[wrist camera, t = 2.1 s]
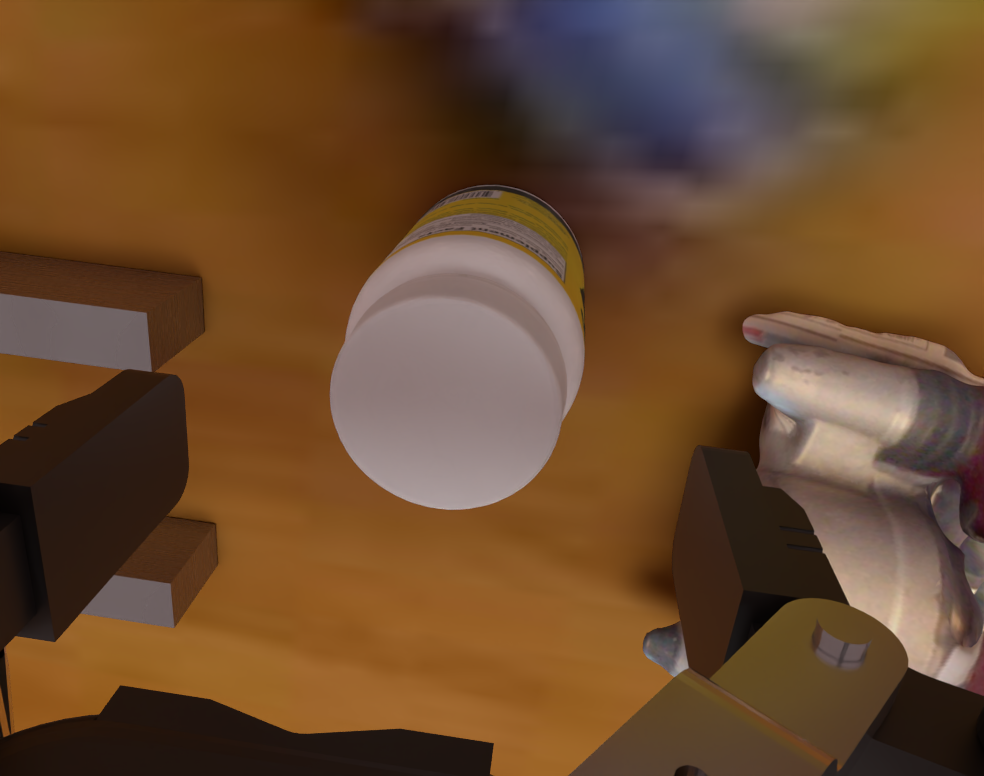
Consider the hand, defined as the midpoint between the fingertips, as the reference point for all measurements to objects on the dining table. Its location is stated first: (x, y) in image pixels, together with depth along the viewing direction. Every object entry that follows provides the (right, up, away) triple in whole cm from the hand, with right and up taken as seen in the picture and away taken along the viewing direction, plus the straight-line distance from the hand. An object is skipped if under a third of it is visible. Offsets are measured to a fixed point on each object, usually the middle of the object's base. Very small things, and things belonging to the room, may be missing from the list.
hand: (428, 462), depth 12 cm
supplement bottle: (+1, +4, +9) cm, 10 cm away
